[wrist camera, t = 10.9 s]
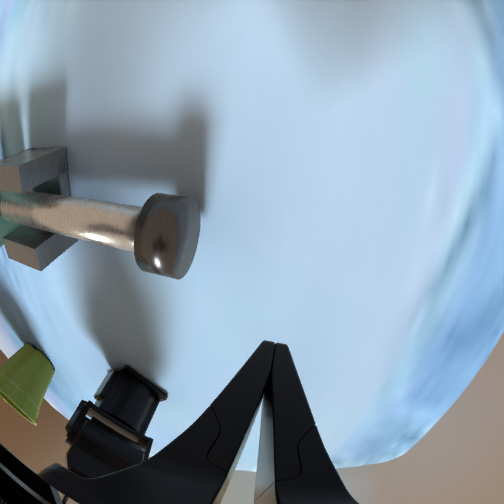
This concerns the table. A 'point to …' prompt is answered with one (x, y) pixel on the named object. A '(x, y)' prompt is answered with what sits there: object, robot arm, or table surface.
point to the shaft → (118, 225)
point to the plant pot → (26, 381)
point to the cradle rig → (43, 181)
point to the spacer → (6, 225)
